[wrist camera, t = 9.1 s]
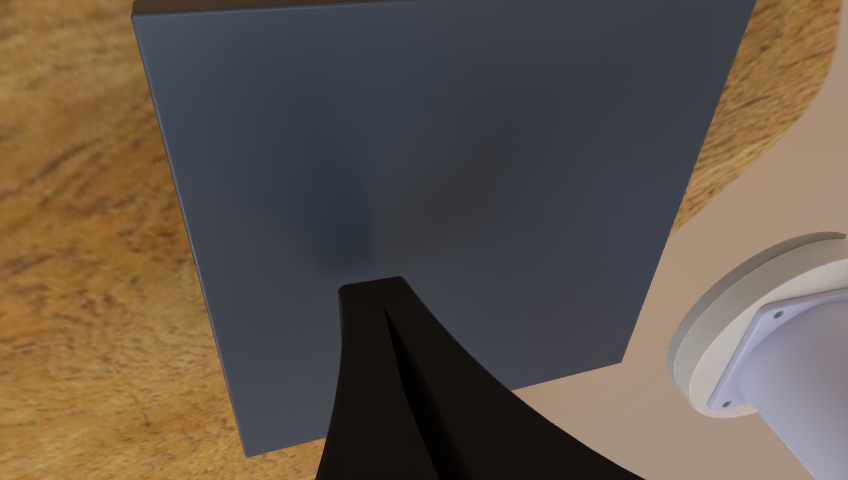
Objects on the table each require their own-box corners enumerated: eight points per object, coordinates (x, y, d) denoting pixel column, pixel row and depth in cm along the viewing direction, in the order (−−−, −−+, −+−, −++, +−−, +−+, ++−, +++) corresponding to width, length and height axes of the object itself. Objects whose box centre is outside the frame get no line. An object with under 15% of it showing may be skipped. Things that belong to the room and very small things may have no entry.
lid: (243, 434, 17) (245, 459, 16) (132, -2, 10) (128, 14, 9) (609, 345, 20) (622, 363, 20) (738, -30, 13) (766, -21, 12)
